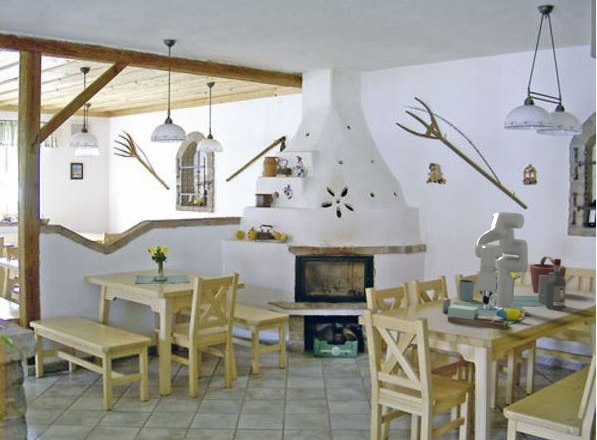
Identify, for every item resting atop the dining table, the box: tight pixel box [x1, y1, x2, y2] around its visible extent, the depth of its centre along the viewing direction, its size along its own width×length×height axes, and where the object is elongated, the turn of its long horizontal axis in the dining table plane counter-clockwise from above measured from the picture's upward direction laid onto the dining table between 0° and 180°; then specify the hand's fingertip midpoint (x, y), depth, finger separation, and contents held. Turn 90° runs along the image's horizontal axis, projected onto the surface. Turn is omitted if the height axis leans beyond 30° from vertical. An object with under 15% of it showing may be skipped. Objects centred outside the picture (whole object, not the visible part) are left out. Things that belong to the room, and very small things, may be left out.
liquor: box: [545, 258, 567, 311], centre depth 409 cm, size 9×9×30 cm
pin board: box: [447, 315, 509, 330], centre depth 363 cm, size 9×30×4 cm, turn 59°
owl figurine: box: [495, 306, 527, 326], centre depth 373 cm, size 28×9×15 cm
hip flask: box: [537, 273, 566, 305], centre depth 422 cm, size 16×4×20 cm, turn 51°
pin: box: [442, 298, 452, 315], centre depth 389 cm, size 4×4×8 cm
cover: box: [447, 304, 480, 320], centre depth 367 cm, size 9×14×5 cm, turn 59°
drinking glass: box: [458, 279, 476, 302], centre depth 433 cm, size 10×10×12 cm
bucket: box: [529, 256, 567, 294], centre depth 464 cm, size 24×22×25 cm
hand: (485, 304), depth 360 cm, fingers closed
